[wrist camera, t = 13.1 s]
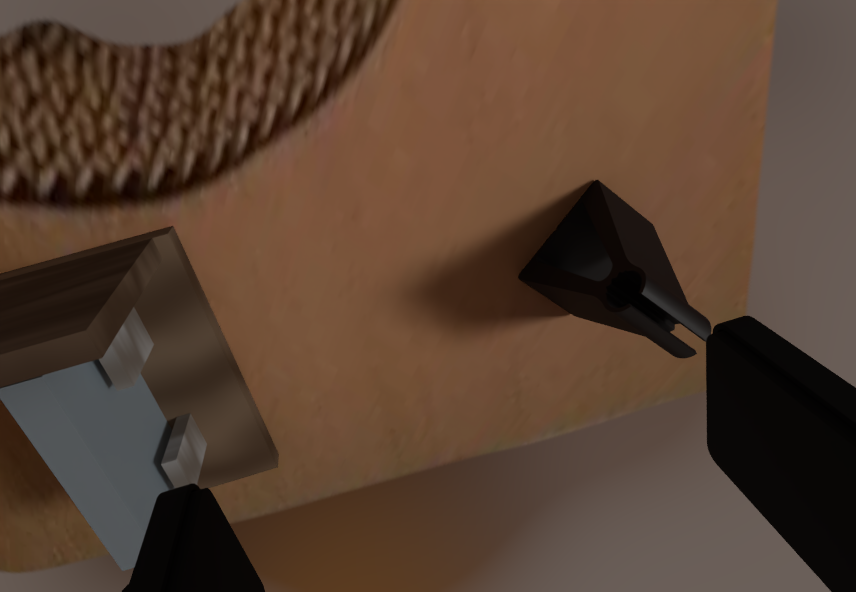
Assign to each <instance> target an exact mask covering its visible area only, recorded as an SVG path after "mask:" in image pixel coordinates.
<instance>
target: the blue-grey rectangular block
mask: <svg viewBox="0 0 856 592" xmlns="http://www.w3.org/2000/svg"><path fill="white" fill-rule="evenodd" d="M0 399H1V401H2V402H3V403H4V405H5V406H6V408H7V409H8V410H9V412H10V413H11V415H12V416H13V417H14V419H15V420H16V422H17V423H18V424H19V426H20V427H21V429H22V430H23V432H24V433H25V434H26V436H27V437H28V439H29V440H30V441H31V443H32V444H33V446H34V447H35V448H36V450H37V451H38V453H39V454H40V455H41V457H42V458H43V460H44V461H45V463H46V464H47V465H48V467H49V468H50V470H51V471H52V472H53V474H54V475H55V477H56V478H57V479H58V481H59V482H60V484H61V485H62V486H63V488H64V489H65V491H66V492H67V494H68V495H69V496H70V498H71V499H72V501H73V502H74V503H75V505H76V506H77V508H78V509H79V510H80V512H81V513H82V515H83V516H84V518H85V519H86V520H87V522H88V523H89V525H90V526H91V527H92V529H93V530H94V532H95V533H96V534H97V536H98V537H99V539H100V540H101V541H102V543H103V544H104V546H105V547H106V549H107V550H108V551H109V553H110V554H111V556H112V557H113V558H114V560H115V561H116V562H117V564H118V565H119V567H120V568H121V570H122V571H124V570H127V569H131V568H134V567H135V564H136V561H137V558H138V555H139V552H140V549H141V545H142V542H143V539H144V536H145V533H146V530H147V527H148V524H149V521H150V517H151V514H152V511H153V508H154V505H155V502H156V499H157V497H158V495H159V494H160V493H162V492H165V491H168V490H172V489H175V487H174V486H173V484H172V482H171V480H170V479H169V477H168V475H167V474H166V472H165V470H164V469H163V467H162V465H161V463H162V460H163V457H164V454H165V451H166V448H167V445H168V442H169V439H170V436H171V433H172V429H171V427H170V426H169V424H168V422H167V420H166V418H165V417H164V415H163V413H162V411H161V409H160V408H159V406H158V404H157V402H156V400H155V399H154V397H153V395H152V393H151V391H150V390H149V388H148V386H147V384H146V382H145V381H144V379H143V377H142V375H141V373H140V375H139V377H138V379H137V381H136V383H135V385H134V386H133V387H129V388H126V389H123V390H119V391H117V389H116V388H115V386H114V384H113V383H112V381H111V379H110V378H109V376H108V374H107V373H106V371H105V369H104V368H103V366H102V364H101V362H100V361H99V359H97V360H94V361H90V362H87V363H83V364H80V365H76V366H73V367H69V368H66V369H62V370H59V371H56V372H52V373H49V374H45V375H42V376H38V377H35V378H31V379H28V380H24V381H21V382H17V383H14V384H10V385H7V386H4V387H0Z"/></svg>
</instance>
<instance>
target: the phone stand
mask: <svg viewBox="0 0 856 592" xmlns="http://www.w3.org/2000/svg"><path fill="white" fill-rule="evenodd" d="M518 278H519V279H520V280H521V281H523V282H524V283H526V284H527V285H529V286H530V287H532V288H533V289H535V290H536V291H538V292H539V293H541V294H542V295H544V296H545V297H547V298H548V299H550V300H551V301H553V302H554V303H556V304H557V305H559V306H560V307H562V308H563V309H565V310H566V311H568V312H569V313H571V314H572V315H574V316H576V317H579V318H583V319H586V320H590V321H593V322H597V323H600V324H604V325H607V326H611V327H614V328H617V329H621V330H624V331H628V332H631V333H635V334H638V335H642V336H645V337H647V338H648V339H650V340H651V341H653V342H654V343H656V344H657V345H658V346H660V347H661V348H663V349H664V350H666V351H667V352H669V353H670V354H671V355H673V356H675V357H677V358H688V357H691V356H694V355H695V354H697V353H696V351H695V350H694V349H693V348H691V347H690V346H688V345H687V344H686V343H684V342H683V341H681V340H680V339H679V338H677V337H676V336H674V335H673V334H672V333H670V331H672V330H674V329H675V324H682V325H683V326H684V327H686V328H687V329H688V330H690V331H691V332H693V333H694V334H695V335H697V336H698V337H699V338H701V339H702V340H703V341H706V340H707V337H708V336H709V335H711V325H710V322H709V320H708V319H707V318H706V317H704V316H703V315H702V314H700V313H699V312H698V311H697V310H695V309H694V308H693V307H691V306H690V305H689V304H688V302H687V300H686V298H685V295H684V293H683V291H682V289H681V286H680V284H679V282H678V280H677V278H676V275H675V273H674V271H673V269H672V266H671V264H670V262H669V260H668V257H667V255H666V253H665V251H664V248H663V246H662V244H661V242H660V239H659V237H658V235H657V233H656V230H655V228H654V226H653V224H652V223H650V222H649V221H648V220H647V219H645V218H644V217H643V216H642V215H641V214H639V213H638V212H637V211H636V210H634V209H633V208H632V207H631V206H629V205H628V204H627V203H626V202H625V201H623V200H622V199H621V198H620V197H618V196H617V195H616V194H615V193H613V192H612V191H611V190H610V189H609V188H607V187H606V186H605V185H604V184H602V183H601V182H600V181H599V180H595V181H594V182H593V183H592V184H591V185H590V187H589V188H588V189H587V190H586V192H585V193H584V194H583V195H582V197H581V198H580V199H579V200H578V202H577V203H576V204H575V205H574V207H573V208H572V209H571V210H570V212H569V213H568V214H567V215H566V217H565V218H564V219H563V220H562V222H561V223H560V224H559V225H558V227H557V230H556V231H554V232H553V233H552V234H551V235H550V237H549V238H548V239H547V240H546V242H545V243H544V244H543V245H542V247H541V248H540V249H539V250H538V252H537V253H536V254H535V255H534V257H533V258H532V259H531V260H530V261H529V263H528V264H527V265H526V266H525V268H524V269H523V270H522V271H521V273H520V274H519V277H518Z"/></svg>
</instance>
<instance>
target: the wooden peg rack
mask: <svg viewBox="0 0 856 592" xmlns="http://www.w3.org/2000/svg"><path fill="white" fill-rule="evenodd" d="M97 359H99V361H100V362H101V364H102V366H103V368H104V369H105V371H106V373H107V374H108V376H109V378H110V379H111V381H112V383H113V384H114V386H115V388H116V389H117V391H119V390H123V389H126V388H129V387H133V386H134V385H135V383H136V381H137V379H138V377H139V375H140V373H141V375H142V377H143V379H144V381H145V382H146V384H147V386H148V388H149V390H150V391H151V393H152V395H153V397H154V399H155V400H156V402H157V404H158V406H159V408H160V409H161V411H162V413H163V415H164V417H165V418H166V420H167V422H168V424H169V426H170V427H171V429H172V433H171V436H170V439H169V442H168V445H167V448H166V451H165V454H164V457H163V460H162V463H161V465H162V467H163V469H164V470H165V472H166V474H167V475H168V477H169V479H170V480H171V482H172V484H173V486H174V487H175V488H178V487H181V486H185V485H188V484H191V483H195V484H196V485H198V486H199V488H200V489H204V488H211V487H214V486H217V485H221V484H224V483H227V482H231V481H234V480H237V479H241V478H244V477H247V476H250V475H254V474H257V473H260V472H264V471H267V470H270V469H273V468H277V467H278V457H279V454H278V452H277V450H276V447H275V445H274V443H273V441H272V439H271V437H270V435H269V432H268V430H267V428H266V426H265V424H264V422H263V419H262V417H261V415H260V413H259V411H258V409H257V406H256V404H255V402H254V400H253V398H252V396H251V393H250V391H249V389H248V387H247V385H246V383H245V380H244V378H243V376H242V374H241V372H240V370H239V367H238V365H237V363H236V361H235V359H234V357H233V354H232V352H231V350H230V348H229V346H228V344H227V342H226V339H225V337H224V335H223V333H222V331H221V329H220V326H219V324H218V322H217V320H216V318H215V316H214V313H213V311H212V309H211V307H210V305H209V303H208V300H207V298H206V296H205V294H204V292H203V290H202V287H201V285H200V283H199V281H198V279H197V277H196V274H195V272H194V270H193V268H192V266H191V264H190V261H189V259H188V257H187V255H186V253H185V251H184V249H183V246H182V244H181V242H180V240H179V238H178V236H177V233H176V231H175V229H174V227H173V226H171V227H168V228H164V229H160V230H157V231H153V232H150V233H146V234H142V235H139V236H135V237H132V238H128V239H124V240H121V241H117V242H114V243H110V244H106V245H103V246H99V247H96V248H92V249H88V250H85V251H81V252H78V253H74V254H70V255H67V256H63V257H60V258H56V259H52V260H49V261H45V262H42V263H38V264H34V265H31V266H27V267H23V268H20V269H16V270H13V271H9V272H5V273H2V274H0V387H4V386H7V385H10V384H14V383H17V382H21V381H24V380H28V379H31V378H35V377H38V376H42V375H45V374H49V373H52V372H56V371H59V370H62V369H66V368H69V367H73V366H76V365H80V364H83V363H87V362H90V361H94V360H97Z"/></svg>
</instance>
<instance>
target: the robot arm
mask: <svg viewBox="0 0 856 592" xmlns="http://www.w3.org/2000/svg"><path fill="white" fill-rule="evenodd" d="M706 381H707V446H708V450H709V452H710V455H711V457H712V458H713V460H714V461H715V463H716V464H717V465H718V466H719V467H720V468H721V470H722V471H723V472H724V473H725V474H726V475H727V476H728V477H729V478H730V479H731V481H732V482H733V483H734V484H735V485H736V486H737V487H738V488H739V489H740V491H741V492H742V493H743V494H744V495H745V496H746V497H747V498H748V499H749V501H751V503H752V504H753V505H754V506H755V507H756V508H757V509H758V510H759V512H760V513H761V514H762V515H763V516H764V517H765V518H766V519H767V520H768V522H769V523H770V524H771V525H772V526H773V527H774V528H775V529H776V530H777V532H778V533H779V534H780V535H781V536H782V537H783V538H784V539H785V541H786V542H787V543H788V544H789V545H790V546H791V547H792V548H793V549H794V551H796V553H797V554H798V555H799V556H800V557H801V558H802V559H803V561H804V562H806V564H807V565H808V566H809V567H810V568H811V569H812V570H813V571H814V573H815V574H816V575H817V576H818V577H819V578H820V579H821V580H822V582H823V583H824V584H825V585H826V586H827V587H828V588H829V589H830V590H831V592H856V388H855V387H854V386H852V385H851V384H849V383H847V382H846V381H845V380H843V379H842V378H841V377H839V376H838V375H836V374H835V373H833V372H832V371H830V370H829V369H827V368H826V367H824V366H823V365H821V364H820V363H819V362H817V361H816V360H814V359H813V358H811V357H810V356H808V355H807V354H806V353H804V352H802V351H801V350H800V349H798V348H797V347H795V346H794V345H792V344H791V343H789V342H788V341H787V340H785V339H784V338H782V337H781V336H779V335H778V334H776V333H775V332H773V331H772V330H770V329H769V328H768V327H766V326H765V325H763V324H762V323H760V322H759V321H757V320H756V319H754V318H752V317H750V316H743V317H739V318H736V319H733V320H729V321H726V322H723V323H720V324H717V325H716V326H715V327H714V329H713V334H711V335H709V336H708V337H707V340H706ZM122 592H265V590H264V586H263V584H262V582H261V580H260V578H259V577H258V575H257V573H256V571H255V569H254V567H253V566H252V564H251V562H250V560H249V559H248V557H247V555H246V553H245V551H244V549H243V548H242V546H241V544H240V542H239V540H238V539H237V537H236V535H235V534H234V531H233V530H232V528H231V526H230V524H229V522H228V521H227V519H226V517H225V515H224V513H223V512H222V510H221V508H220V506H219V504H218V503H217V501H216V499H215V497H214V495H213V494H212V492H211V491H210V489H208V488H204V489H200V488H199V486H198V485H196V484H195V483H191V484H188V485H185V486H181V487H178V488H175V489H172V490H168V491H165V492H162V493H160V494H159V495H158V497H157V499H156V502H155V505H154V508H153V511H152V514H151V517H150V521H149V524H148V527H147V530H146V533H145V536H144V539H143V542H142V545H141V549H140V552H139V555H138V558H137V561H136V564H135V567H134V570H133V574H132V577H131V580H130V583H129V584H128V585H127V586H126V587H125V588H124V589H123V590H122Z"/></svg>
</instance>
